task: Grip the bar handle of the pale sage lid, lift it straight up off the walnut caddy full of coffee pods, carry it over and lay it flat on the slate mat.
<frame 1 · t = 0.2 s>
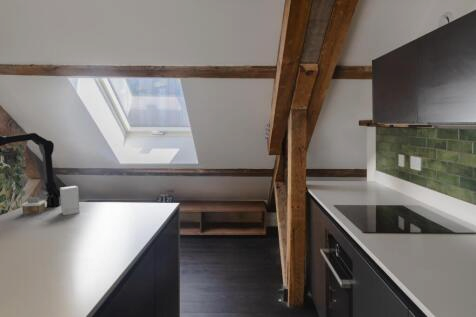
mat: (36, 216, 171), on the worktop
caddy: (34, 213, 176), resting on mat
lid: (33, 204, 175), point 5 cm above the worktop, touching caddy
skincare box: (70, 213, 177), on the worktop
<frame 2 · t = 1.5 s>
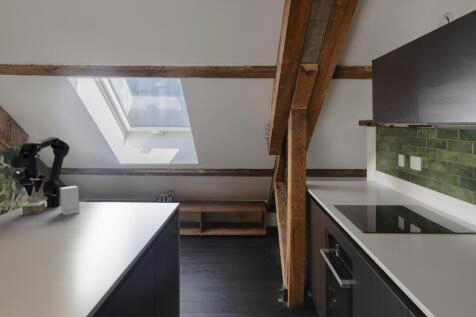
hand: (33, 194, 175), 11 cm above the worktop, tool pointing down, fingers open, 9 cm apart
nothing on the worktop moved.
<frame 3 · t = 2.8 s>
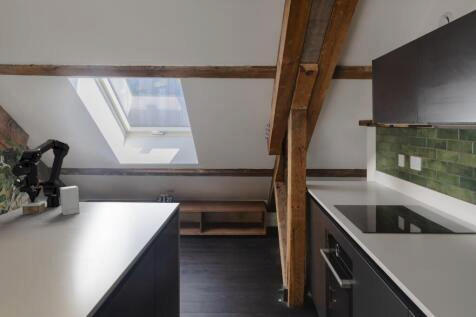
hand: (33, 201, 175), 7 cm above the worktop, tool pointing down, fingers closed on lid, 2 cm apart
lid: (33, 204, 175), point 5 cm above the worktop, touching caddy, gripper
everything else where it was.
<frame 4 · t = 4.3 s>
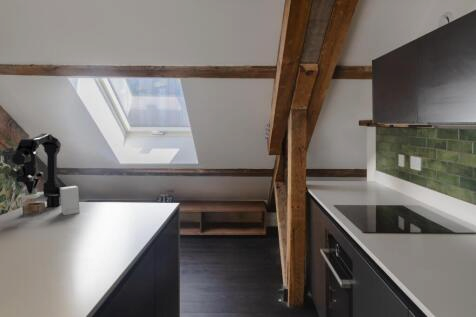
hand: (31, 193, 166), 13 cm above the worktop, tool pointing down, fingers closed on lid
lid: (31, 195, 166), point 12 cm above the worktop, touching gripper
everything else where it was.
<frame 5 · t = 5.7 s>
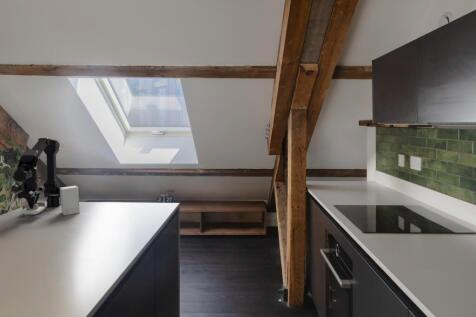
hand: (32, 208, 167), 5 cm above the worktop, tool pointing down, fingers closed on lid, 2 cm apart
lid: (32, 210, 167), point 4 cm above the worktop, touching gripper
everything else where it was.
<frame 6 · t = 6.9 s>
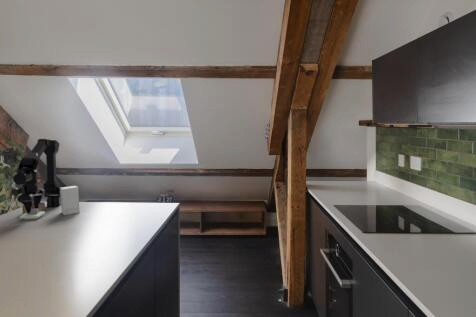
hand: (32, 210, 167), 4 cm above the worktop, tool pointing down, fingers open, 9 cm apart
lid: (32, 215, 167), point 1 cm above the worktop, touching mat
everything else where it was.
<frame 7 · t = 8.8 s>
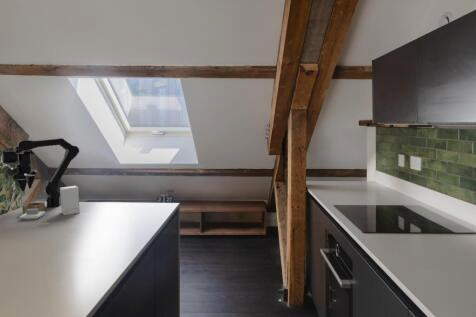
hand: (26, 189, 182), 12 cm above the worktop, tool pointing down, fingers open, 9 cm apart
nothing on the worktop moved.
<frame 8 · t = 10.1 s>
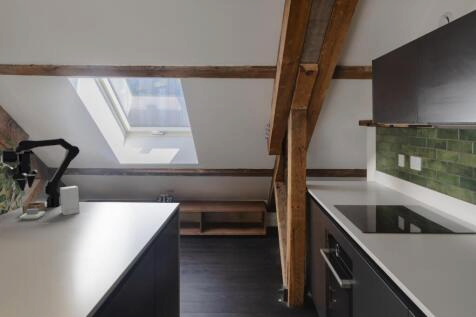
hand: (26, 189, 182), 12 cm above the worktop, tool pointing down, fingers open, 9 cm apart
nothing on the worktop moved.
at the end: lid inside the target area (0.1 cm from its centre), point 1.4 cm above the worktop; lid tilted 0°; the gripper is holding nothing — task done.
